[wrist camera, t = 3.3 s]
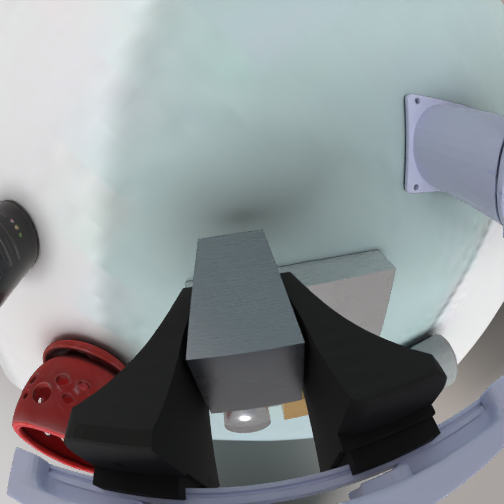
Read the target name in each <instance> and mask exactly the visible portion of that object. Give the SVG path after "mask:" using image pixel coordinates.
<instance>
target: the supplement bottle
mask: <svg viewBox="0 0 504 504" xmlns="http://www.w3.org/2000/svg"><path fill="white" fill-rule="evenodd" d="M37 252H38V243H37V237H36V233H35V230H34V227H33V225H32V222H31V221H30V219H29V217H28V216H27V214H26V213H25V212H24V211H23V210H22V209H21V208H20V207H19V206H17V205H16V204H14V203H12V202H8V201H2V202H0V307H1V306H2V305H3V303H4V302H5V301H6V299H7V298H8V297H9V295H10V294H11V293H12V291H13V290H14V289H15V287H16V286H17V285H18V284H19V282H20V281H21V280H22V279H23V277H24V276H25V275H26V274H27V272H28V271H29V270H30V269H31V268H32V266H33V265H34V263H35V261H36V258H37Z"/></svg>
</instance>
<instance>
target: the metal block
mask: <svg viewBox="0 0 504 504" xmlns="http://www.w3.org/2000/svg"><path fill="white" fill-rule="evenodd" d="M304 349H305V342H304V339H303V336H302V333H301V331H300V328H299V325H298V322H297V320H296V317H295V314H294V311H293V309H292V306H291V303H290V300H289V298H288V295H287V292H286V290H285V287H284V284H283V281H282V279H281V276H280V273H279V271H278V268H277V265H276V263H275V260H274V257H273V255H272V252H271V249H270V247H269V244H268V242H267V239H266V236H265V234H264V231H263V230H256V231H249V232H242V233H236V234H229V235H222V236H216V237H209V238H203V239H198V246H197V253H196V261H195V269H194V278H193V287H192V296H191V306H190V316H189V327H188V339H187V352H186V361H187V364H188V366H189V368H190V370H191V372H192V375H193V377H194V379H195V381H196V383H197V385H198V387H199V389H200V392H201V394H202V396H203V398H204V400H205V402H206V404H207V406H208V408H209V410H210V412H211V413H222V412H231V411H240V410H248V409H255V408H261V407H268V406H274V405H279V404H284V403H290V402H295V401H299V400H302V387H303V370H304Z"/></svg>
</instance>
